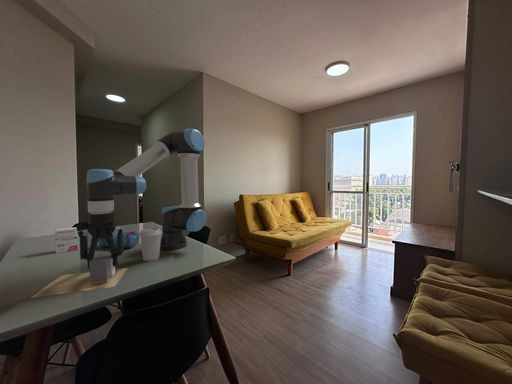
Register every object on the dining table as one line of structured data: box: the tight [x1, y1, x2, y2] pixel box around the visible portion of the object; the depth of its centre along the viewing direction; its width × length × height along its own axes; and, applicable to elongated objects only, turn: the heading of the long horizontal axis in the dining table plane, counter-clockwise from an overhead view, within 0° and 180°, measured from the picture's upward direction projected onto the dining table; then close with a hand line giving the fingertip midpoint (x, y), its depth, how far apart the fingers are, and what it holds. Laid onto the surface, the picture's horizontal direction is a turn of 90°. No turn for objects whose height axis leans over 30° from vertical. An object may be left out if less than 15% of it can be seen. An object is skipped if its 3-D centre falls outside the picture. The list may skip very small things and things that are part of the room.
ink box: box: [54, 226, 78, 254], centre depth 109 cm, size 8×5×12 cm, turn 133°
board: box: [30, 267, 129, 299], centre depth 73 cm, size 22×16×2 cm
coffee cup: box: [138, 227, 162, 262], centre depth 94 cm, size 10×10×15 cm
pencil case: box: [98, 230, 140, 249], centre depth 116 cm, size 21×9×10 cm, turn 81°
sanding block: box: [89, 252, 112, 284], centre depth 74 cm, size 8×5×8 cm, turn 18°
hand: (103, 275), depth 74 cm, fingers closed on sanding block, 5 cm apart
